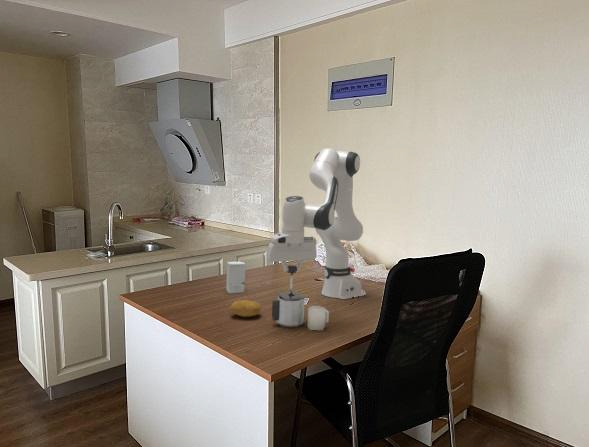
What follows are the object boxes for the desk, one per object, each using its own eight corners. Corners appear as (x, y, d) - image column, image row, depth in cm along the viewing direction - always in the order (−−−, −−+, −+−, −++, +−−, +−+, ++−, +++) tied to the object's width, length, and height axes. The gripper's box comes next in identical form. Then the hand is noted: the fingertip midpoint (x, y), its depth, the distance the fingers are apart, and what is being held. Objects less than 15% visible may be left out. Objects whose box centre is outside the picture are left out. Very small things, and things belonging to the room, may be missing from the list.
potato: (259, 320, 180) (259, 304, 179) (228, 319, 181) (228, 303, 180) (261, 313, 190) (262, 297, 189) (232, 312, 190) (232, 296, 189)
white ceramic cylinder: (323, 323, 180) (323, 304, 179) (330, 329, 173) (331, 310, 172) (304, 325, 176) (305, 306, 175) (311, 332, 170) (312, 312, 169)
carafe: (297, 317, 186) (298, 290, 184) (307, 326, 176) (308, 297, 174) (268, 320, 181) (268, 292, 179) (276, 329, 171) (277, 300, 170)
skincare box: (228, 293, 216) (229, 264, 214) (225, 290, 221) (226, 261, 219) (245, 292, 219) (245, 263, 217) (241, 289, 224) (242, 260, 222)
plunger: (295, 298, 183) (297, 263, 181) (303, 303, 176) (304, 267, 174) (278, 299, 180) (279, 264, 178) (285, 305, 173) (286, 268, 171)
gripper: (313, 235, 181) (312, 267, 183) (266, 236, 173) (265, 270, 175) (319, 237, 175) (318, 271, 177) (271, 239, 167) (270, 274, 169)
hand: (291, 271), depth 176 cm, fingers closed on plunger, 4 cm apart
